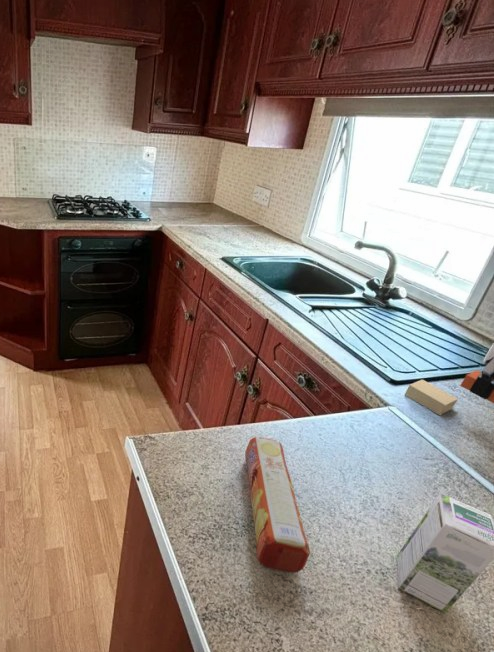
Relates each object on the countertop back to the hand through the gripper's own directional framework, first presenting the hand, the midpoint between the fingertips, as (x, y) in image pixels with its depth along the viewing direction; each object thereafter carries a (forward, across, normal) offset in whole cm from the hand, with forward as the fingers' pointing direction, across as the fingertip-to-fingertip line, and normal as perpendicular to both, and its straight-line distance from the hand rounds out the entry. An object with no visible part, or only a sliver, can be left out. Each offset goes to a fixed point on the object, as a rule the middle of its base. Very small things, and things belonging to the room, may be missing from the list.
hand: (484, 391), depth 87 cm
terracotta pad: (0, 0, 0) cm, 0 cm away
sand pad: (+9, 0, +8) cm, 12 cm away
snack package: (+10, -60, +4) cm, 61 cm away
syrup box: (+10, -49, -15) cm, 52 cm away
